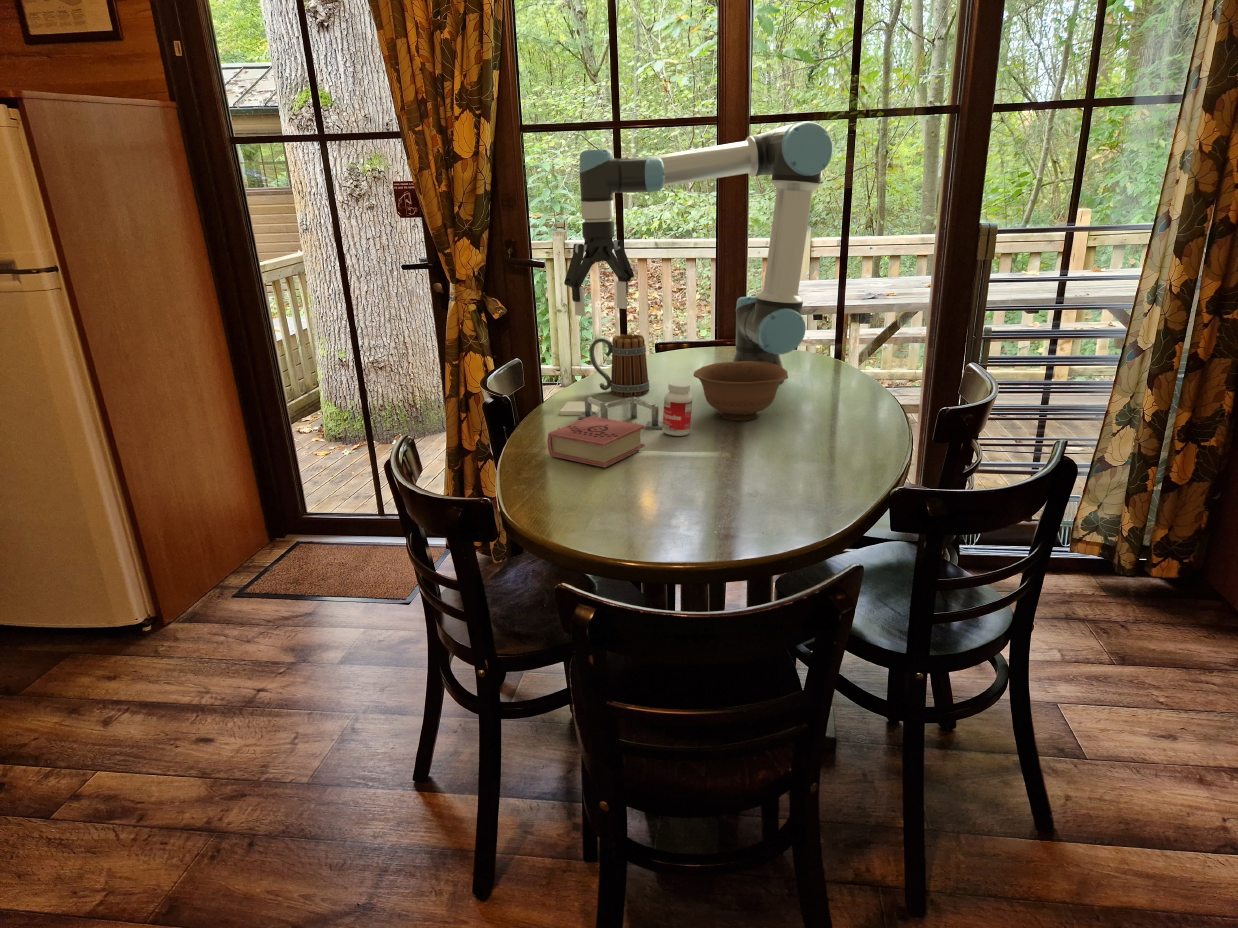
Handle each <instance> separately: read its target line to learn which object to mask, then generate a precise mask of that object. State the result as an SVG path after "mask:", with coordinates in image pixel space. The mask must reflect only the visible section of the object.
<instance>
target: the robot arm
mask: <svg viewBox="0 0 1238 928" xmlns="http://www.w3.org/2000/svg"><path fill="white" fill-rule="evenodd" d="M833 150H834V145H833V140H832V137H831V135H830V133H829V132H828V130H827V129H826V128H825V127H824V126H822V125H821V124H819V123H816V122H814V121H798V122H795V123H793V124H786V125H783V126H780V127H778V128H777V127H776V128H775V129H772V130H769V131H766V132H763V133H760V134H755V135H748V136H747V137H746V138H745V140H743V141H737V142H731V143H725V144H719V145H714V146H706V147H700V148H694V149H689V150H682V151H676V152H670V153H663V154H657V155H651V156H647V157H644V156H643V157H632V158H631V157H630V158H628V157H627V158H617V157H616V158H615V157H613V153H612V151H611V150H610V149H588V150H587V149H586V150H583V151H581V152H580V154H579V171H578V173H579V187H580V205H581V206H580V207H581V209H580V210H581V219H582V220H584V222H582V223H581V230H582V231H581V232H582V238H583V239H584V243H574V244H573V249H572V256H571V260H570V263H569V266H568V269H567V272H566V276H565V279H564V282H563V284H564V286H568V288H571V295H572V296H571V298H572V302H574V316H580V317H585V314H586V311H585V310H586V309H585V294H584V293H585V291H584V290H585V289H584V287H582V284H583V282H584V281H585V279H586V277H587V275H588V274H589V272H590V270H591V268H592V266H593V265H594V264H595V263H600V262H605V263H607V264H608V266H609V268H610V269H611V270H612V272H613V273H614V275H615V277H616V278H617V279H618V280H617V281H615V282H616V283H615V284H616V308H617V309H622V310H623V309H624V310H626V309H628V306H627V301H628V300H627V298H628V297H627V295H628V294H629V286H628V283H629V282H631V281H632V279H633V278H634V277H635V273H634V270H633V268H632V266H631V264H630V263H631V262H630V261H629V258H628V256H627V253H626V250H625V246H624V245H625V244H624V240H622V239H614V240H613V237H614V236H615V222H614V221H613V220H612V219H614V218H615V214H614V213H615V212H614V211H615V210H614V194H621V193H623V194H624V193H625V194H627V193H628V194H629V193H630V194H631V193H632V194H633V193H654V192H655V193H656V192H660V191H662V189H663V187H664V188H665V187H669V186H676V185H682V184H683V185H684V184H688V183H689V184H690V183H696V182H701V181H702V182H703V181H708V180H713V179H714V180H715V179H720V178H725V177H732V176H739V175H744V174H748V175H749V176H750V177H758V176H771V183H772V185H773V186H774V188H775V190H776V192H775V193H776V194H775V199H774V207H773V215H772V223H771V229H770V230H771V231H770V238H769V245H768V254H767V260H766V268H765V275H764V283H763V290H762V291H761V292H760V293H758V294H757V295H755V296H754V295H751V296H740V297H738V298H737V301H736V307H735V352H734V356H733V360H732V362H739V361H757V362H768V363H772V364H776V365H779V366H781V367H782V368H783V369H784V367H783V362H782V360H781V356H780V355H785V354H789V353H791V352H793V351H794V350H795V349H797V348H798V347H799V346H800V345H801V343H802V341H804V340H803V339H804V337H805V334H806V323H805V322H806V321H805V320H804V318H803V315H802V312H803V305H804V301H803V299H802V297H801V296H800V295H799V288H800V282H801V275H802V269H803V261H804V260H803V259H804V254H805V247H806V240H807V235H808V234H807V232H808V226H809V220H810V213H811V206H812V200H813V193H814V191H816V190H817V189H818V188H820V187H821V183H822V178H823V177H822V176H823V171H824V170H825V169H826V168H827V167H828V165H829V164H830V161H832V156H833ZM784 381H785V380H782V382H781V383H783V382H784Z"/></svg>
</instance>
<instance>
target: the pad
mask: <svg viewBox="0 0 1238 928" xmlns="http://www.w3.org/2000/svg"><path fill="white" fill-rule="evenodd" d="M591 405H592V413H598V414H599V412H600V411H601V408H600V407H598V406H596V405H593V404H591ZM581 413H585V401H567V402H566V403H565V404H564V405H563V407H562V408H561V409H560V410H559V415H560V416H580V415H581Z"/></svg>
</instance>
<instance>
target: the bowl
mask: <svg viewBox="0 0 1238 928" xmlns="http://www.w3.org/2000/svg"><path fill="white" fill-rule="evenodd" d="M693 377H694V378H697V379H698V380H699V381H700V382H701V385H702V389H703V394H704V397H705V400H706V402H707V403H708V405H710V406H711V407H712V408H713V409H715V410H716V411H719V412H720V416H721V417H722V418H723V419H725V420H729V421H736V422H738V421H739V422H740V421H741V422H743V421H752V420H756V419H757V418H758V417H759V413H760V412H762V411H764V410H765V409H766V408H769V407H770V406H771V404H772V403H773V402H774V400H775V398H776V394H777V392H778V388H779V386H780V385H781V383H783V382H782V380H784V381H785V380H787V379H788V378H789V375H788V370H787V369H785V368H784V367H783V368H782V367H781V366H779V365H776V364H772V363H768V362H757V361H739V362H733V361H727V362H726V361H725V362H715V363H713V364H708V365H704V366H702V367H700V368H698V369H697V370H694V372H693Z"/></svg>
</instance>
